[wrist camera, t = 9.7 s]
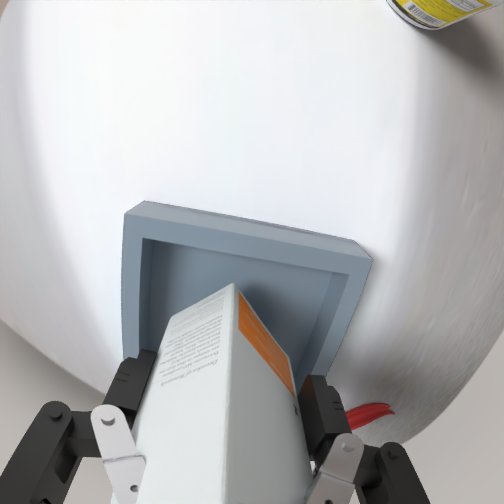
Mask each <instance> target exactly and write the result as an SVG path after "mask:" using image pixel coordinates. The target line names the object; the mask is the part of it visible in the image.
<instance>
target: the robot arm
mask: <svg viewBox="0 0 504 504" xmlns="http://www.w3.org/2000/svg"><path fill="white" fill-rule="evenodd" d="M156 356H157V352H155V351H150V350H146V349H141V350H140V352H139V354H138V357H137V359H136V358H132V357H128V358H126V359H125V360H124V361H123V362H121V364H120V366H119V368H118V370H117V373H116V375H115V377H114V379H113V381H112V384H111V386H110V388H109V390H108V393H107V395H106V397H105V400H104V402H103V404H102V405H100V406H98V407H96V408H95V409H94V410H93V411H89V412H80V411H71V410H70V408H69V407H68V406H67V405H66V404H64V403H62V402H59V401H51V402H48V403H46V404H45V405H44V406H43V407H42V408H41V410H40V411H39V413H38V414H37V416H36V417H35V419H34V421H33V422H32V424H31V426H30V427H29V429H28V430H27V432H26V433H25V435H24V436H23V438H22V440H21V442H20V443H19V445H18V446H17V448H16V450H15V452H14V453H13V455H12V457H11V458H10V460H9V462H8V464H7V466H6V468H5V469H4V471H3V473H2V475H1V476H0V504H63V502H64V500H65V497H66V495H67V493H68V490H69V488H70V485H71V483H72V480H73V478H74V476H75V474H76V471H77V469H78V467H79V465H80V462H81V460H82V458H83V457H102V459H103V463H104V466H105V469H106V472H107V475H108V478H109V480H110V483H111V486H112V488H113V491H114V494H115V496H116V499H117V501H118V503H119V504H136V502H137V497H138V494H139V491H138V492H132V491H131V490H132V488H133V487H139V490H140V486H141V482H142V479H143V475H144V471H145V467H146V463H145V461H144V459H143V457H142V456H141V455H135V454H134V452H135V449H136V445H135V442H134V440H133V437H132V435H131V430H132V427H133V424H134V421H135V418H136V415H137V412H138V409H139V406H140V403H141V400H142V397H143V394H144V391H145V388H146V385H147V382H148V379H149V376H150V373H151V370H152V367H153V365H154V362H155V359H156ZM297 398H298V403H299V408H300V413H301V418H302V423H303V427H304V432H305V438H306V443H307V449H308V454H309V459H310V461H315V467H314V468H313V470H312V475H313V482H312V483H311V484H310V485H309V487H308V488H307V490H306V492H305V495H304V498H303V499H304V500H305V502H304V504H349V502H350V499H351V496H352V494H353V491H354V488H355V489H356V493H357V496H358V499H359V502H360V504H430V501H429V499H428V498H427V495H426V493H425V490H424V488H423V486H422V484H421V482H420V480H419V478H418V476H417V473H416V471H415V469H414V467H413V465H412V463H411V461H410V459H409V457H408V455H407V453H406V451H405V449H404V448H403V447H402V446H401V445H400V444H398V443H395V442H387V443H385V444H384V445H383V446H382V447H381V448H378V447H373V446H368V445H364V444H363V442H362V440H361V439H360V438H359V437H357V436H356V435H354V434H352V432H351V429H350V425H349V422H348V419H347V416H346V413H345V410H344V407H343V404H342V403H341V402H342V401H341V398H340V396H339V393H338V392H337V391H336V390H335V389H334V387H333V386H327V383H326V380H325V377H324V376H323V375H311V374H308V375H307V376H306V378H305V381H304V383H303V385H302V387H301V390H300V392H299V394H298V397H297Z"/></svg>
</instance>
